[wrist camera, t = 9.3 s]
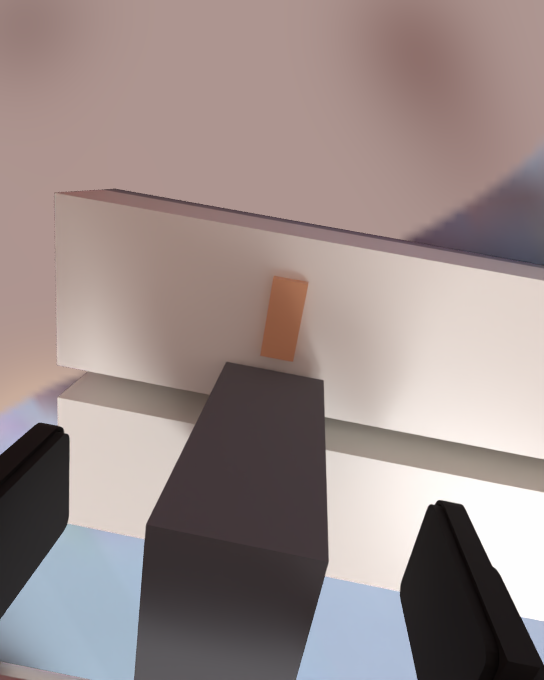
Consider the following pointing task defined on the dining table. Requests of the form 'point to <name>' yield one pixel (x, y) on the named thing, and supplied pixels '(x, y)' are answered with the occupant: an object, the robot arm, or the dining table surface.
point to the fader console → (306, 370)
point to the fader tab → (238, 535)
